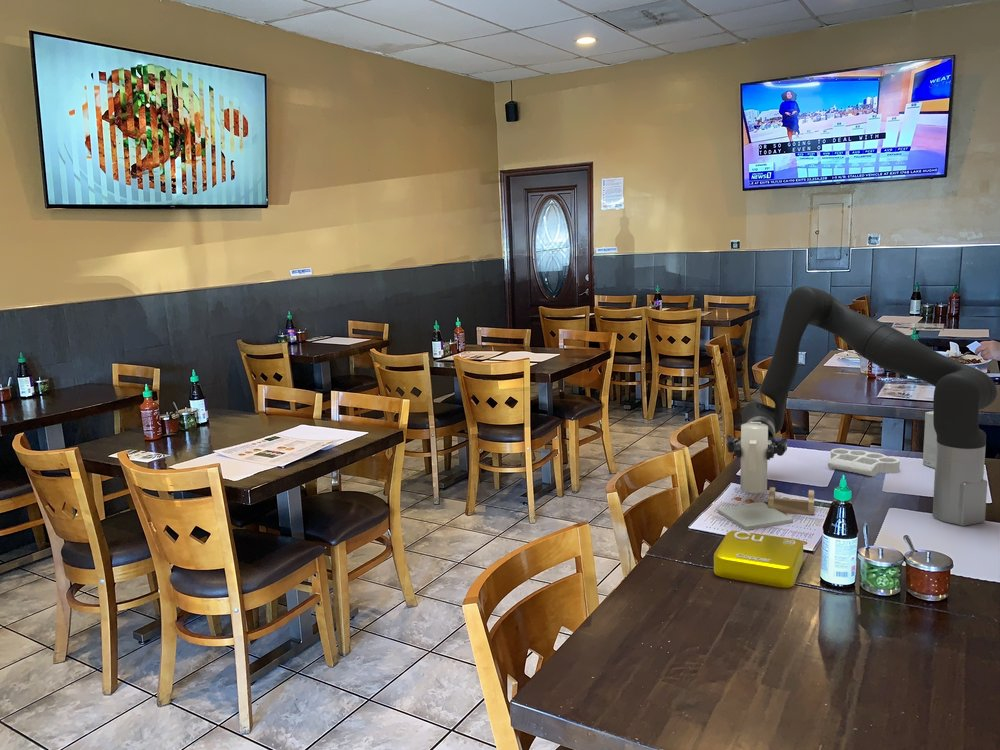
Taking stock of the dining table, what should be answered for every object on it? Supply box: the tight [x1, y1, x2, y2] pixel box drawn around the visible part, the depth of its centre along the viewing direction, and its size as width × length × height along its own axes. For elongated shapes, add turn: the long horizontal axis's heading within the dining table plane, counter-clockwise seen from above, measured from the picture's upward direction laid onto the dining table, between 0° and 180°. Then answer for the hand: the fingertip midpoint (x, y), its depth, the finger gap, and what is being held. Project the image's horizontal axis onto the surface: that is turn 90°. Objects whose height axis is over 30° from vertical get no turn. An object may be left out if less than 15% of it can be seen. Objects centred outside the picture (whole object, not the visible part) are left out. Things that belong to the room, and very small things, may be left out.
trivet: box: [717, 501, 794, 531], centre depth 174 cm, size 12×12×1 cm
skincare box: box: [922, 410, 937, 469], centre depth 201 cm, size 8×6×15 cm
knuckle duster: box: [827, 447, 901, 477], centre depth 205 cm, size 3×18×15 cm
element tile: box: [713, 530, 804, 589], centre depth 149 cm, size 15×15×5 cm
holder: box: [767, 486, 815, 516], centre depth 179 cm, size 9×10×3 cm
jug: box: [740, 422, 768, 494], centre depth 171 cm, size 10×6×15 cm, turn 158°
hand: (753, 454), depth 169 cm, fingers closed on jug, 5 cm apart
